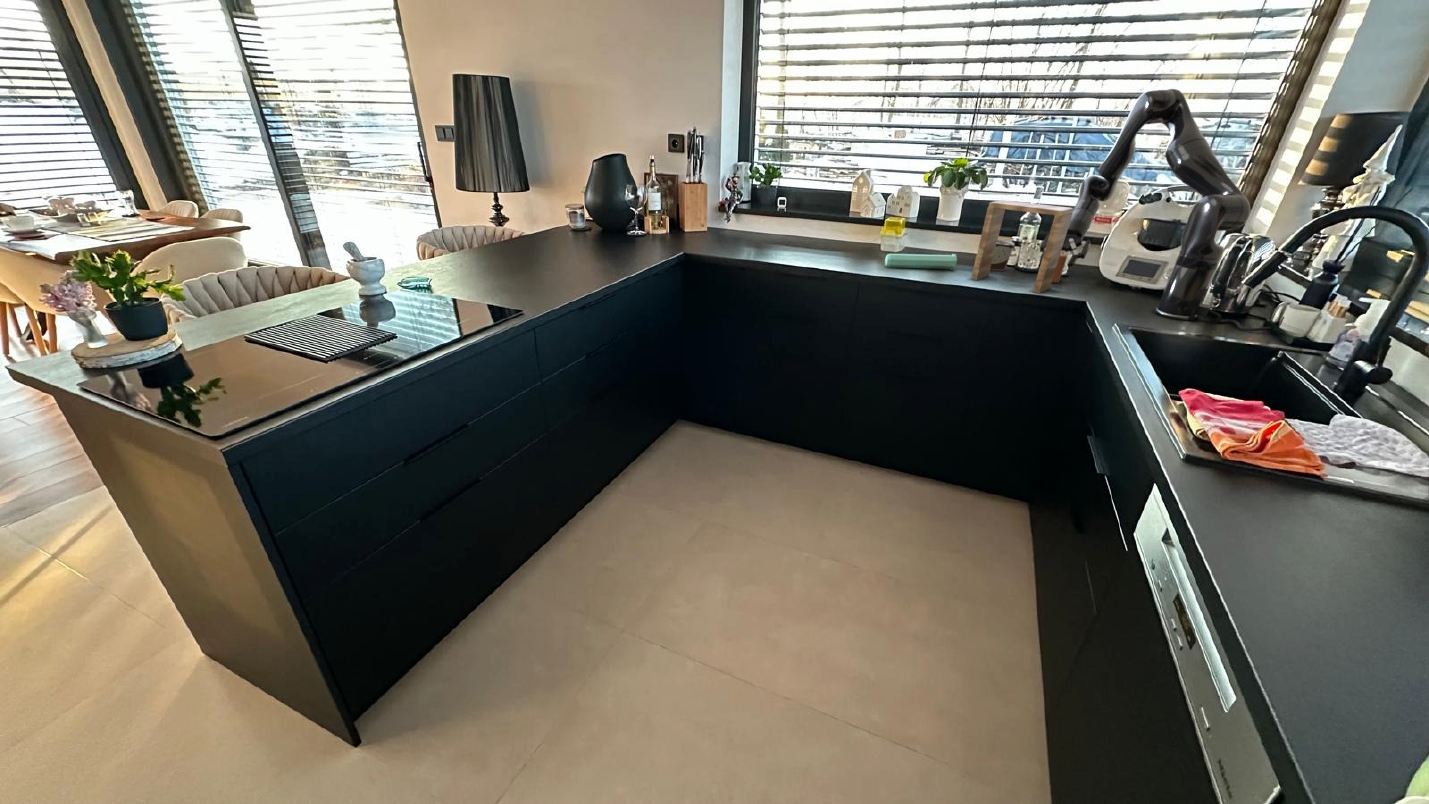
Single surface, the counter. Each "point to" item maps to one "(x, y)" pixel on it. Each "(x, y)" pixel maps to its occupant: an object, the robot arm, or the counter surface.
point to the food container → (1002, 255)
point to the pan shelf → (1052, 247)
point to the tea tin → (1059, 268)
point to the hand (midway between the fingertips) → (1055, 263)
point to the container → (921, 261)
